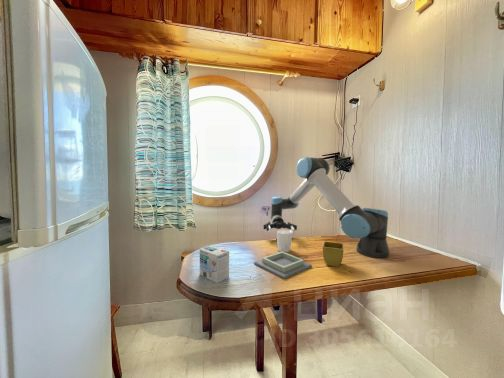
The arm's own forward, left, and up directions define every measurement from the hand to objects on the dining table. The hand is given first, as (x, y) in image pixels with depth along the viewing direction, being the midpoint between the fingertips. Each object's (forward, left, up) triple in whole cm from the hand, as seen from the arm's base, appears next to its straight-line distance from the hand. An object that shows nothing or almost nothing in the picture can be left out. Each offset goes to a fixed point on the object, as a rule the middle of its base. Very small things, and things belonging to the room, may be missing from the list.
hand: (281, 230), depth 129 cm
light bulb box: (-11, +50, -8) cm, 52 cm away
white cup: (-8, +6, -8) cm, 13 cm away
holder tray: (-21, +21, -8) cm, 31 cm away
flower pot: (-34, +2, -8) cm, 35 cm away
